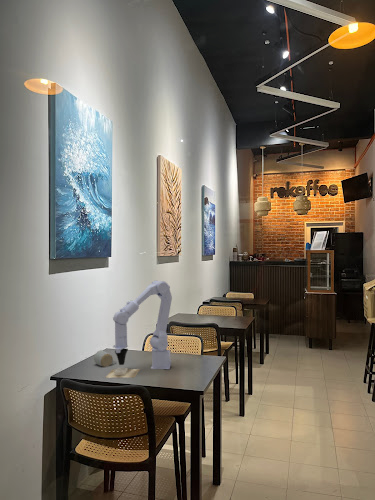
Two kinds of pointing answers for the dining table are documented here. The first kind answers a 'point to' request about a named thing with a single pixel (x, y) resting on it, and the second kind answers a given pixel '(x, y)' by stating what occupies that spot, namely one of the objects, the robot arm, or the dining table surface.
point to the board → (130, 374)
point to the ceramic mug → (103, 359)
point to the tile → (120, 371)
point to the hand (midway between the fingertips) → (121, 364)
